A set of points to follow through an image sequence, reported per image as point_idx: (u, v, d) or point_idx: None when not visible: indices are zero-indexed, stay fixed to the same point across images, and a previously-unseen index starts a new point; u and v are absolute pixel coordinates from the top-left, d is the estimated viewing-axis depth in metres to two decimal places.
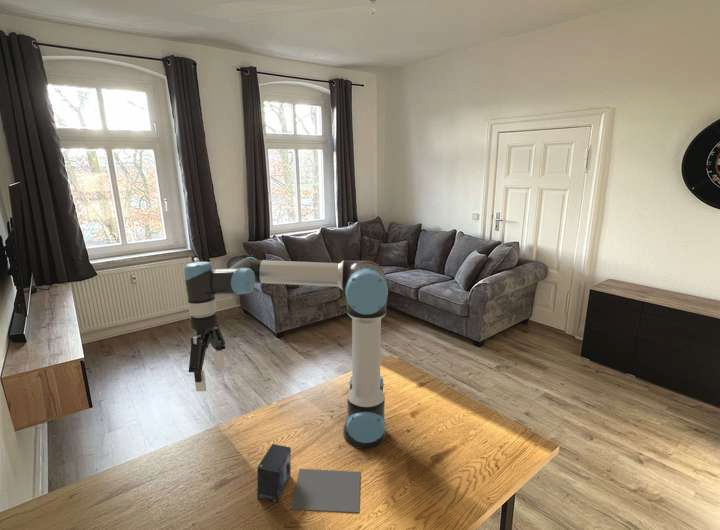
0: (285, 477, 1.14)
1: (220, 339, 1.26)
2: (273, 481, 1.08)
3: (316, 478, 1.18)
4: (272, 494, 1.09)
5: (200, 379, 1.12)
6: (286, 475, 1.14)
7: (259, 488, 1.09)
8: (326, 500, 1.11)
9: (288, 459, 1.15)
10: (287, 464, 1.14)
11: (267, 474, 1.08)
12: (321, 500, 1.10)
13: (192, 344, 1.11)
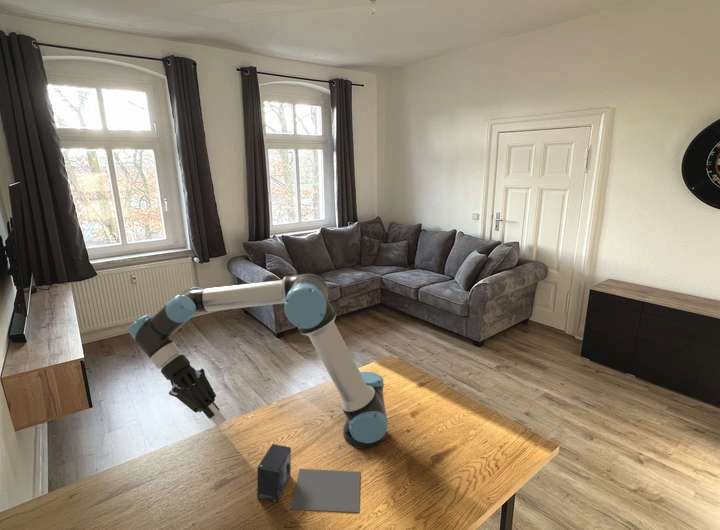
0: (285, 477, 1.14)
1: (207, 389, 1.17)
2: (273, 481, 1.08)
3: (316, 478, 1.18)
4: (272, 494, 1.09)
5: (211, 414, 1.13)
6: (286, 475, 1.14)
7: (259, 488, 1.09)
8: (326, 500, 1.11)
9: (288, 459, 1.15)
10: (287, 464, 1.14)
11: (267, 474, 1.08)
12: (321, 500, 1.10)
13: (175, 396, 1.10)
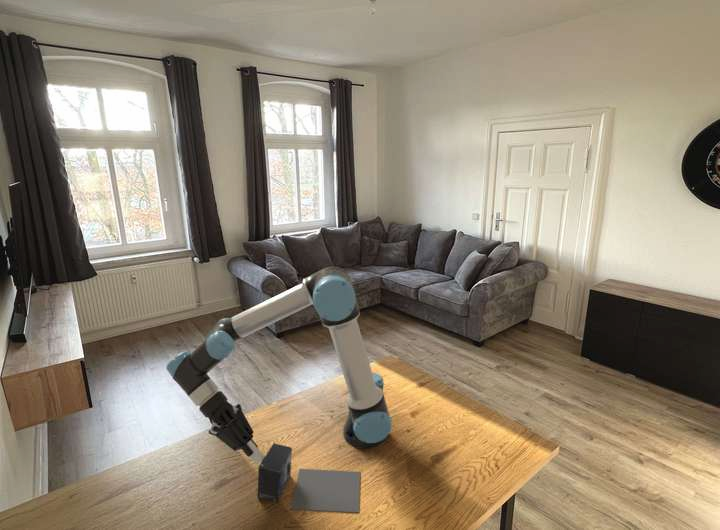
0: (285, 477, 1.14)
1: (245, 425, 1.16)
2: (274, 481, 1.08)
3: (316, 478, 1.18)
4: (272, 494, 1.09)
5: (250, 452, 1.11)
6: (286, 475, 1.14)
7: (259, 487, 1.09)
8: (326, 500, 1.11)
9: (289, 459, 1.15)
10: (288, 464, 1.14)
11: (268, 474, 1.08)
12: (321, 500, 1.10)
13: (215, 435, 1.09)
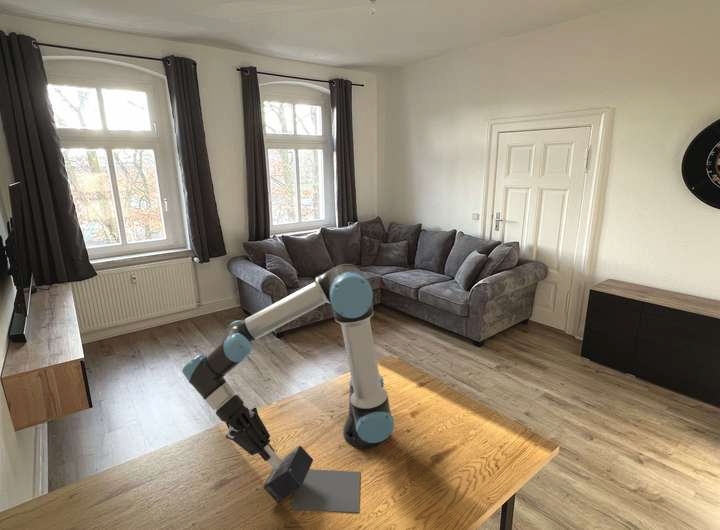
0: None
1: (261, 429, 1.14)
2: (290, 489, 1.07)
3: (316, 478, 1.18)
4: (279, 495, 1.08)
5: (268, 457, 1.10)
6: None
7: (273, 483, 1.08)
8: (326, 500, 1.11)
9: None
10: None
11: (291, 481, 1.07)
12: (321, 500, 1.10)
13: (232, 439, 1.07)
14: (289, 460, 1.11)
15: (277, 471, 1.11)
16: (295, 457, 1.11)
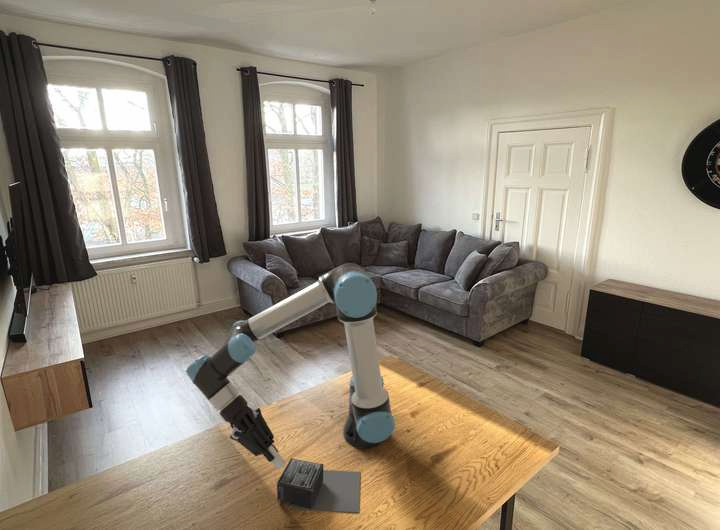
0: None
1: (265, 430, 1.14)
2: (299, 503, 1.08)
3: None
4: (285, 499, 1.08)
5: (272, 457, 1.10)
6: None
7: (288, 488, 1.07)
8: (326, 500, 1.11)
9: None
10: None
11: (306, 499, 1.07)
12: (321, 500, 1.10)
13: (236, 440, 1.07)
14: (311, 475, 1.11)
15: (295, 477, 1.10)
16: (318, 477, 1.11)
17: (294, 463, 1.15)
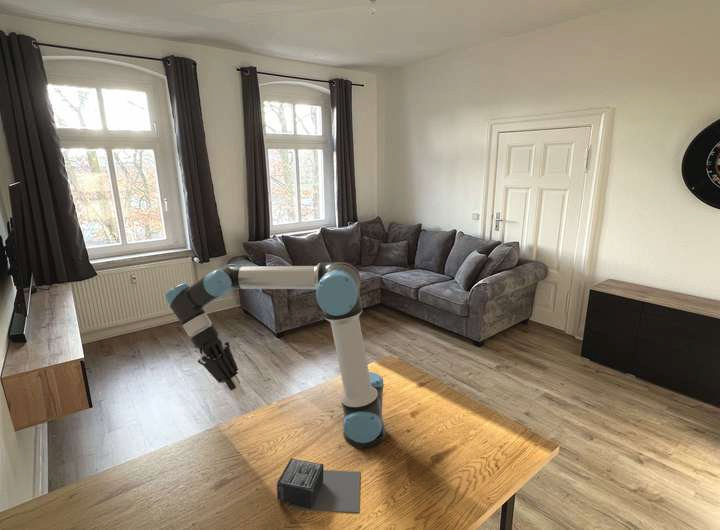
0: None
1: (231, 362, 1.22)
2: (299, 503, 1.08)
3: None
4: (285, 499, 1.08)
5: (233, 386, 1.18)
6: None
7: (288, 488, 1.07)
8: (326, 500, 1.11)
9: None
10: None
11: (306, 499, 1.07)
12: (321, 500, 1.10)
13: (203, 364, 1.15)
14: (311, 475, 1.11)
15: (295, 477, 1.10)
16: (318, 477, 1.11)
17: (294, 463, 1.15)
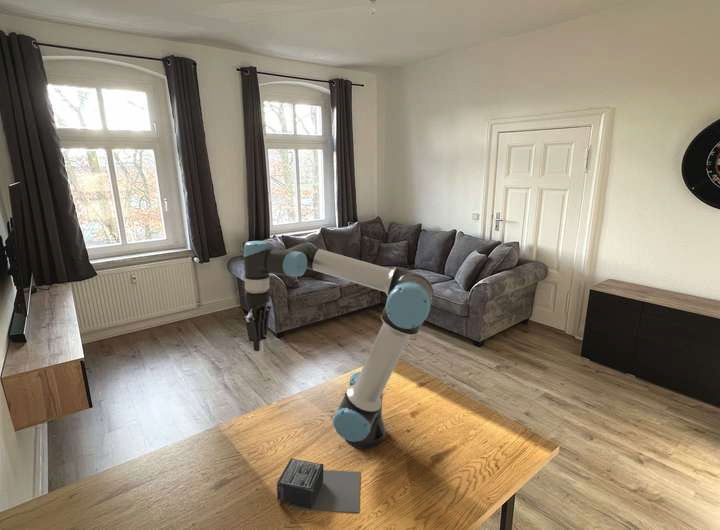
0: None
1: (265, 325, 1.29)
2: (299, 503, 1.08)
3: None
4: (285, 499, 1.08)
5: (258, 349, 1.26)
6: None
7: (288, 488, 1.07)
8: (326, 500, 1.11)
9: None
10: None
11: (306, 499, 1.07)
12: (321, 500, 1.10)
13: (246, 322, 1.20)
14: (311, 475, 1.11)
15: (295, 477, 1.10)
16: (318, 477, 1.11)
17: (294, 463, 1.15)
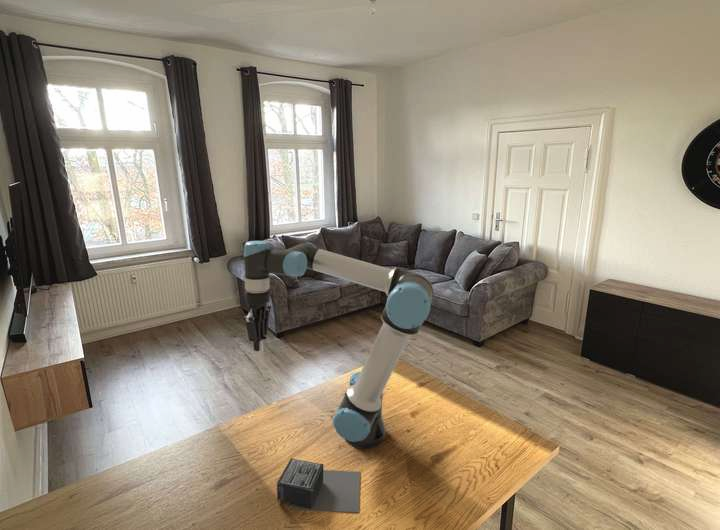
0: None
1: (265, 325, 1.29)
2: (299, 503, 1.08)
3: None
4: (285, 499, 1.08)
5: (258, 349, 1.26)
6: None
7: (288, 488, 1.07)
8: (326, 500, 1.11)
9: None
10: None
11: (306, 499, 1.07)
12: (321, 500, 1.10)
13: (246, 322, 1.20)
14: (311, 475, 1.11)
15: (295, 477, 1.10)
16: (318, 477, 1.11)
17: (294, 463, 1.15)
